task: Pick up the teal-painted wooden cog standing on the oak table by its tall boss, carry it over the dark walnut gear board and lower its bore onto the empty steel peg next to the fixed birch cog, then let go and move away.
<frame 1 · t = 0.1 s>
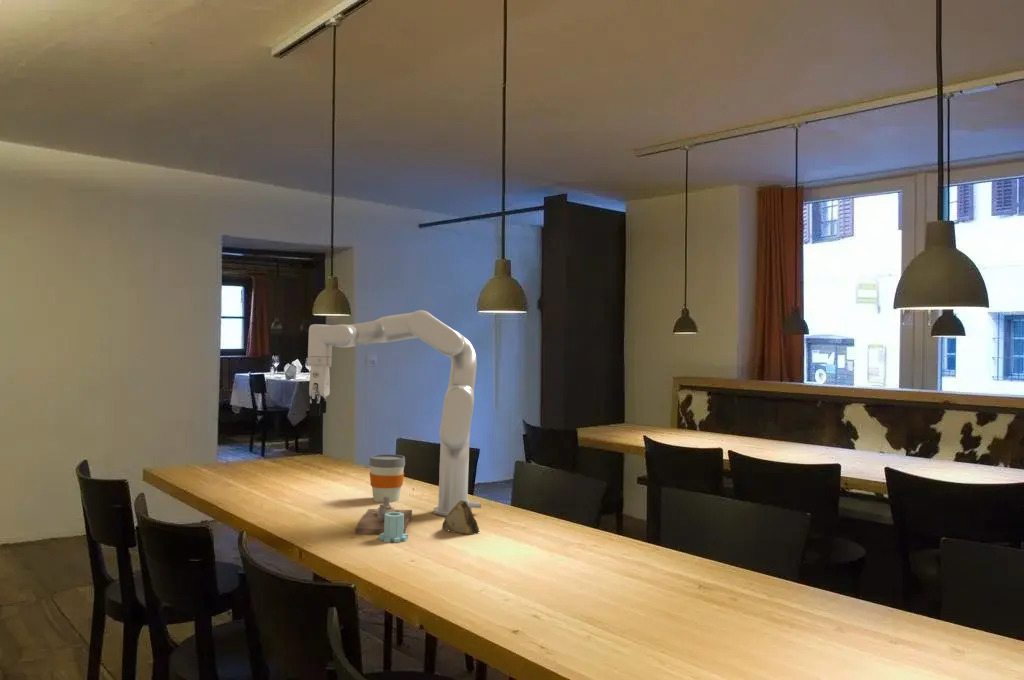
hand: (317, 414, 242), 31 cm above the table, tool pointing down, fingers open, 9 cm apart
gear board: (385, 523, 226), on the table
loose cog: (393, 538, 209), on the table
reusable coffee cup: (386, 500, 261), on the table
rock: (459, 532, 220), on the table
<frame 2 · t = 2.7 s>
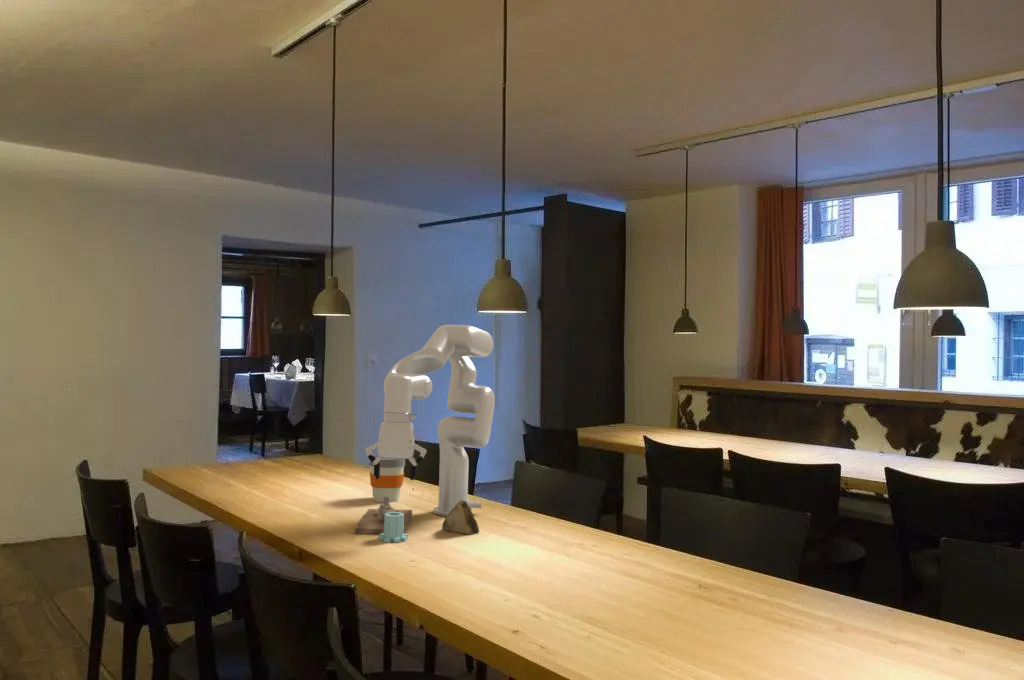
hand: (394, 478, 209), 17 cm above the table, tool pointing down, fingers open, 9 cm apart
nothing on the table moved.
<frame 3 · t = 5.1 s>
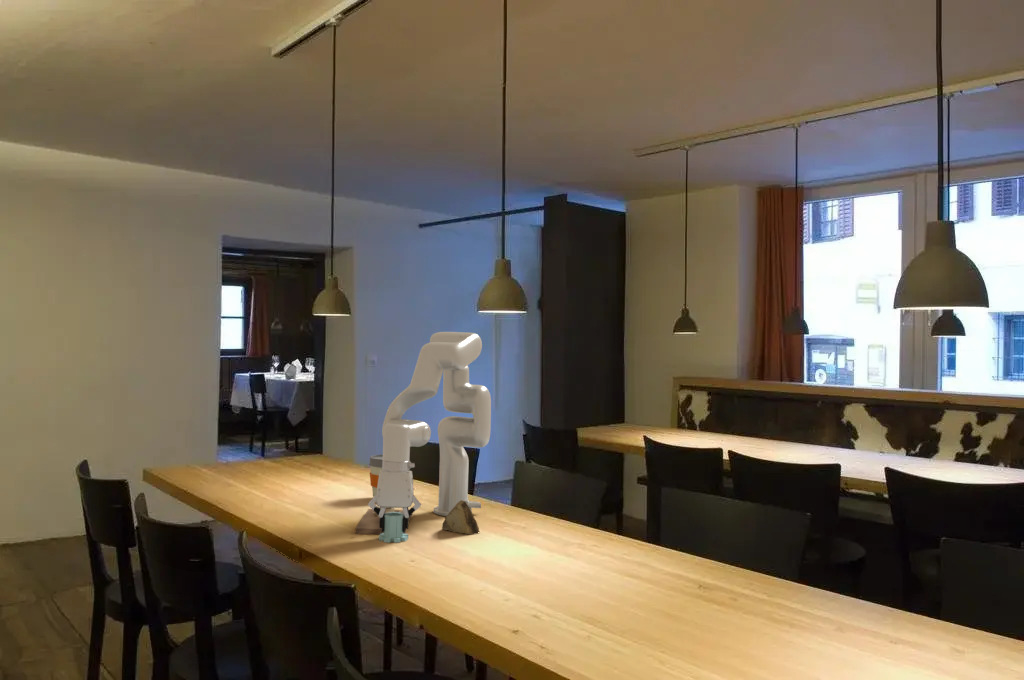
hand: (393, 530, 209), 2 cm above the table, tool pointing down, fingers closed on loose cog, 5 cm apart
loose cog: (393, 538, 209), on the table, touching gripper
everything else where it was.
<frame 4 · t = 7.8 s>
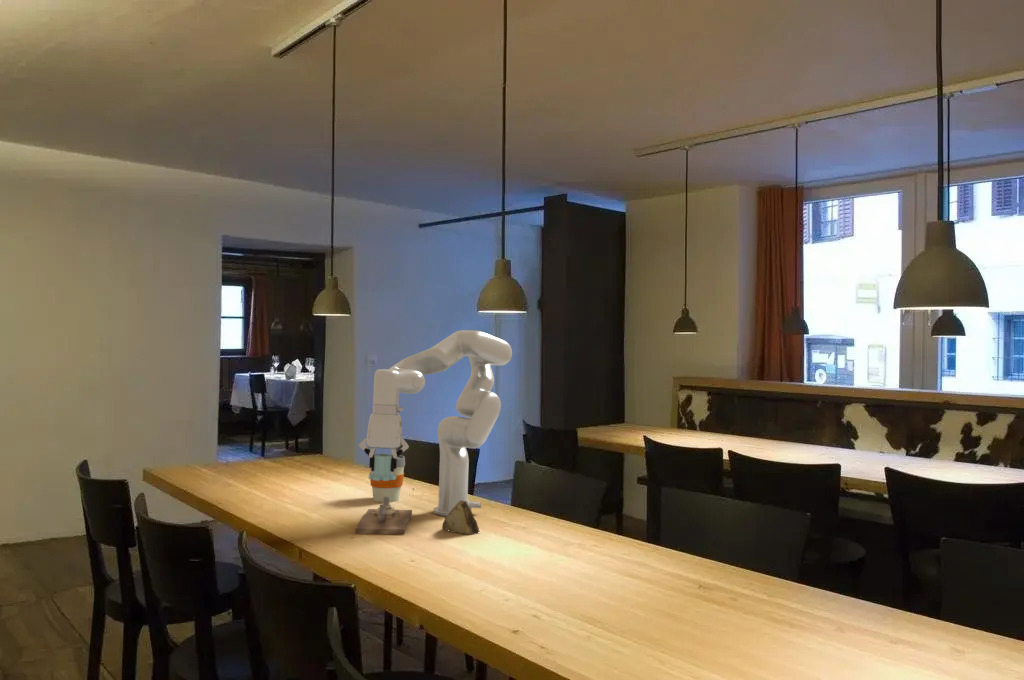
hand: (382, 470, 222), 17 cm above the table, tool pointing down, fingers closed on loose cog, 5 cm apart
loose cog: (382, 478, 222), point 15 cm above the table, touching gripper
everything else where it was.
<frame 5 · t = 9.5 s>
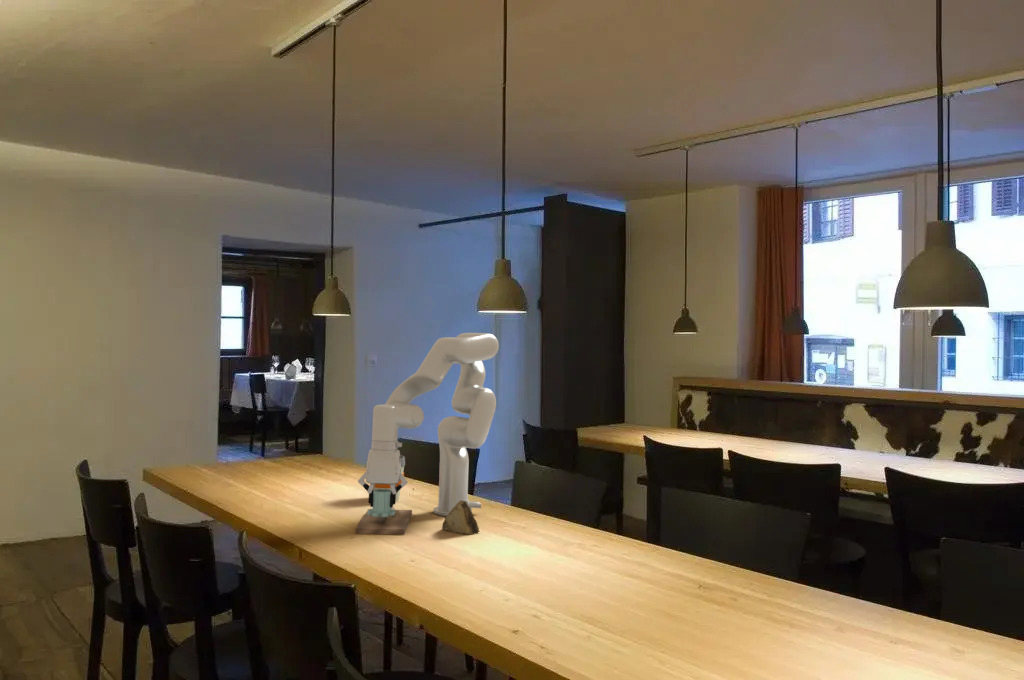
hand: (381, 505, 222), 6 cm above the table, tool pointing down, fingers closed on loose cog, 5 cm apart
loose cog: (381, 513, 222), point 4 cm above the table, touching gripper
everything else where it was.
when the fingers open (4 cm above the table, at t = 10.7 s): loose cog stays where it is, resting on gear board.
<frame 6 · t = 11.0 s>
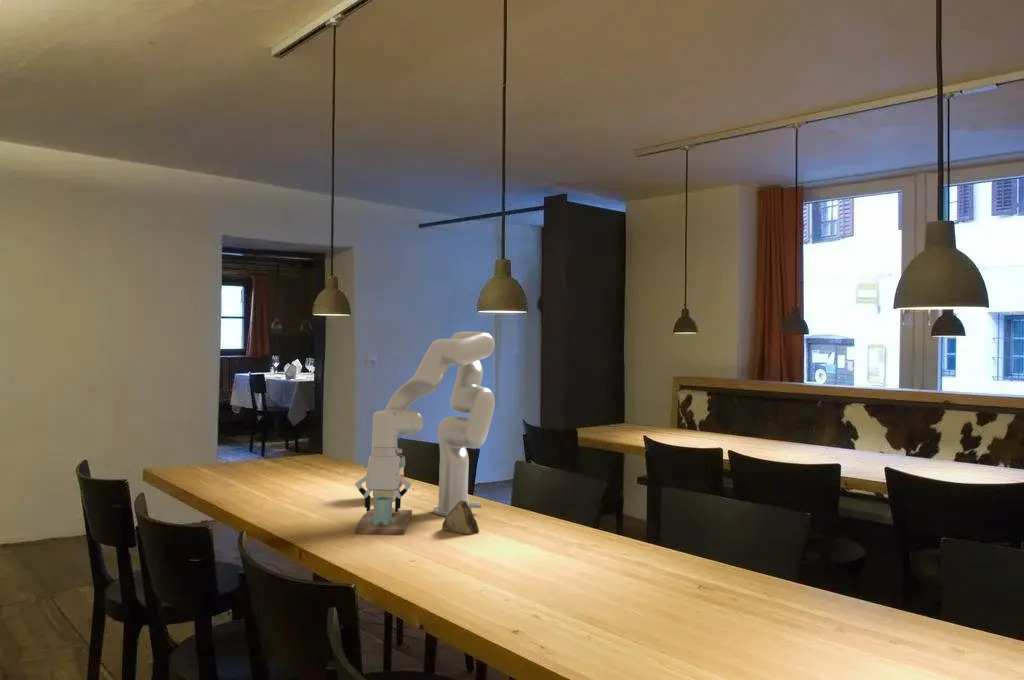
hand: (382, 510, 222), 5 cm above the table, tool pointing down, fingers open, 8 cm apart
loose cog: (382, 521, 222), point 1 cm above the table, touching gear board
everything else where it was.
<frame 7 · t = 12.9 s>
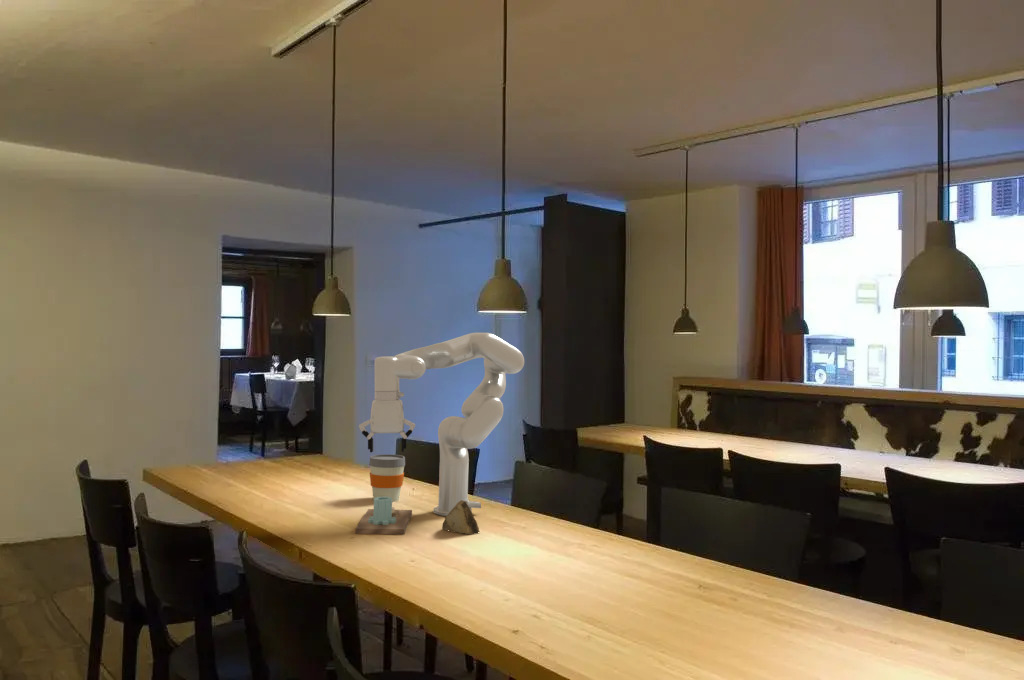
hand: (387, 451, 229), 22 cm above the table, tool pointing down, fingers open, 9 cm apart
nothing on the table moved.
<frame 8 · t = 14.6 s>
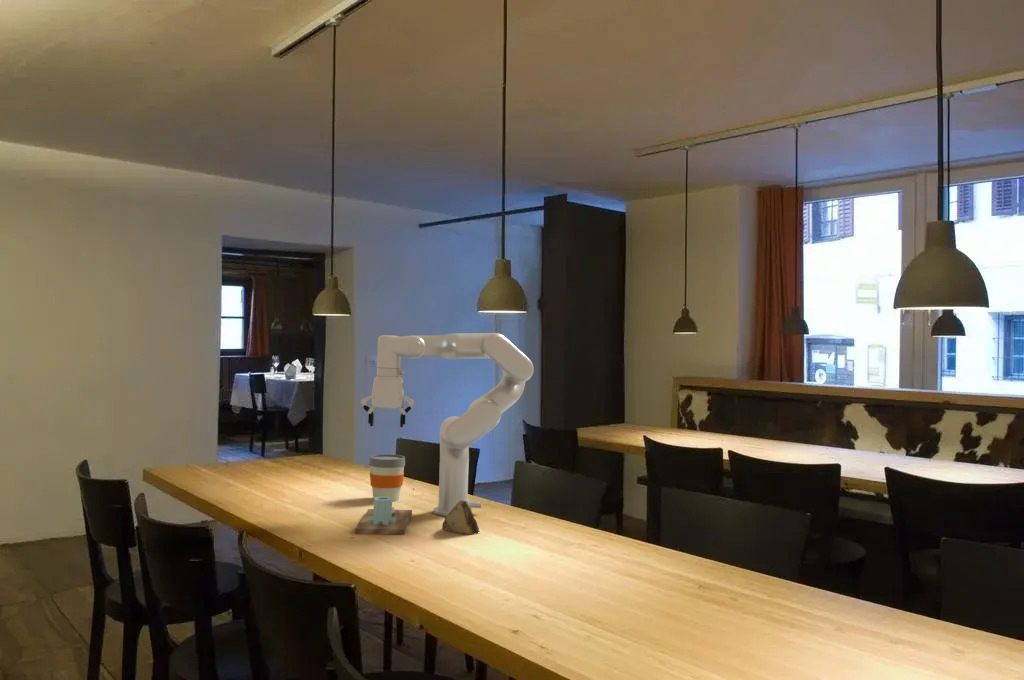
hand: (386, 426, 239), 28 cm above the table, tool pointing down, fingers open, 9 cm apart
nothing on the table moved.
at the end: loose cog 0.1 cm from the target spot, point 1.5 cm above the table; loose cog tilted 0°; the gripper is holding nothing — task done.
